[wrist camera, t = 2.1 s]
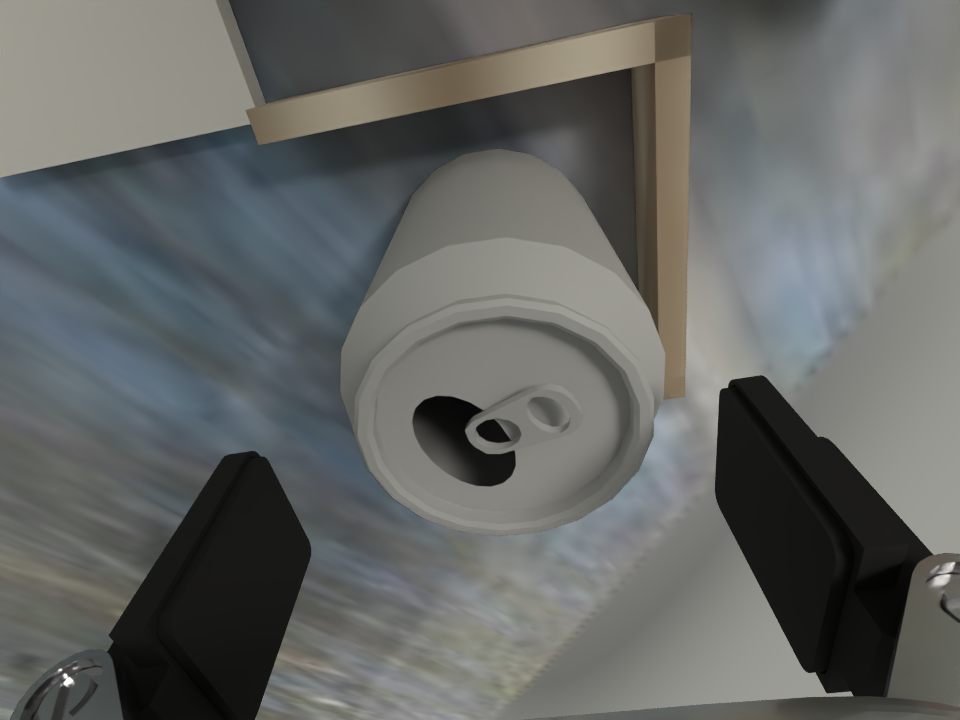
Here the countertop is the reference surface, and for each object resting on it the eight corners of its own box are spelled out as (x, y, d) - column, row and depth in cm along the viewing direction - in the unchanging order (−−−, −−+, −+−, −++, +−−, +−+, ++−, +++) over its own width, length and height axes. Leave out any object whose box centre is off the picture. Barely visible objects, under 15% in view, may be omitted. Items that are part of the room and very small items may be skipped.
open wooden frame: (661, 16, 17) (692, 13, 14) (663, 357, 24) (685, 396, 21) (279, 99, 18) (245, 109, 16) (383, 398, 25) (371, 440, 22)
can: (362, 222, 21) (238, 408, 10) (522, 98, 18) (567, 178, 8) (475, 356, 24) (465, 600, 14) (624, 264, 21) (750, 476, 11)
